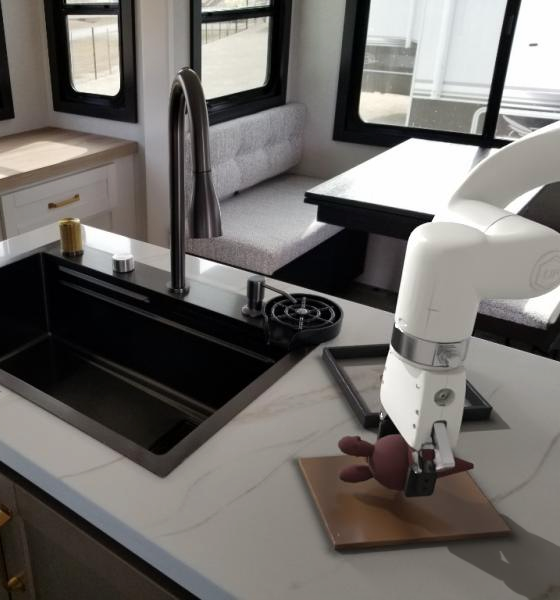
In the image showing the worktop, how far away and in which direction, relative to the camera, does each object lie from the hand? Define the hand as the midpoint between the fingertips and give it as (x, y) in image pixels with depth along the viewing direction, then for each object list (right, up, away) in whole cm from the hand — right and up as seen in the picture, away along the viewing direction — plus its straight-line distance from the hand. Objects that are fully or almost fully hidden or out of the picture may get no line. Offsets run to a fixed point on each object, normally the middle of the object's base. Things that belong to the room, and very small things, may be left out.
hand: (402, 469), depth 75 cm
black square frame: (+8, +7, +22) cm, 24 cm away
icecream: (0, -2, +1) cm, 3 cm away
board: (0, -4, +2) cm, 4 cm away
